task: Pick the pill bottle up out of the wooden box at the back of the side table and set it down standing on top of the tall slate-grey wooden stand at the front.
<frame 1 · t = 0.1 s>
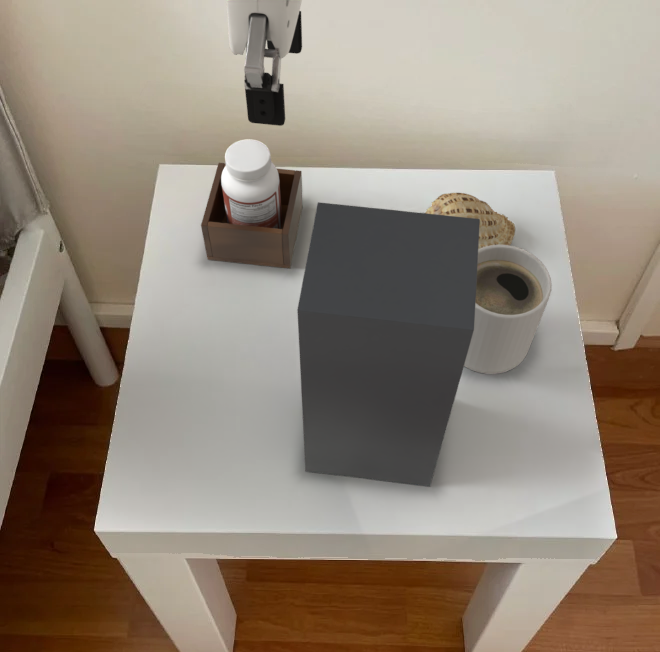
hand: (276, 85, 73), 21 cm above the table, tool pointing down, fingers open, 9 cm apart
mug: (479, 333, 86), on the table
seashell: (466, 239, 92), on the table
wooden box: (256, 232, 92), on the table
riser: (392, 262, 57), on the table
pill bottle: (255, 230, 92), resting on wooden box
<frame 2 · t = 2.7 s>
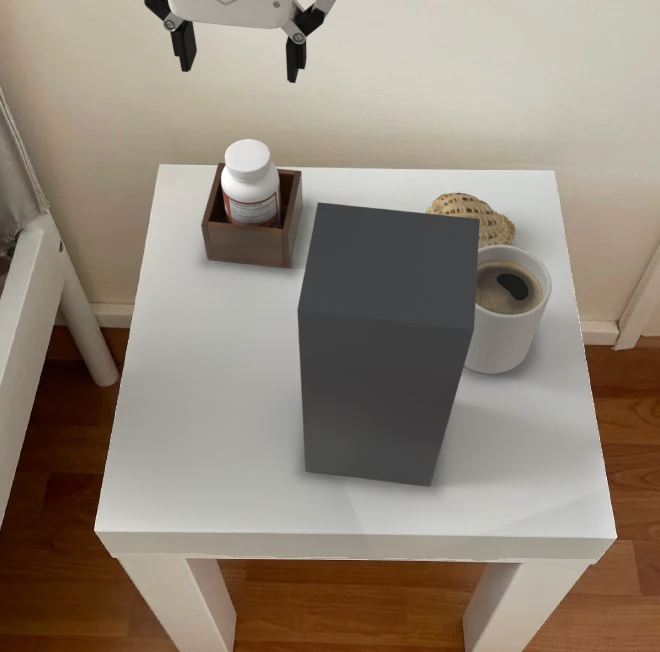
hand: (241, 67, 73), 22 cm above the table, tool pointing down, fingers open, 9 cm apart
nothing on the table moved.
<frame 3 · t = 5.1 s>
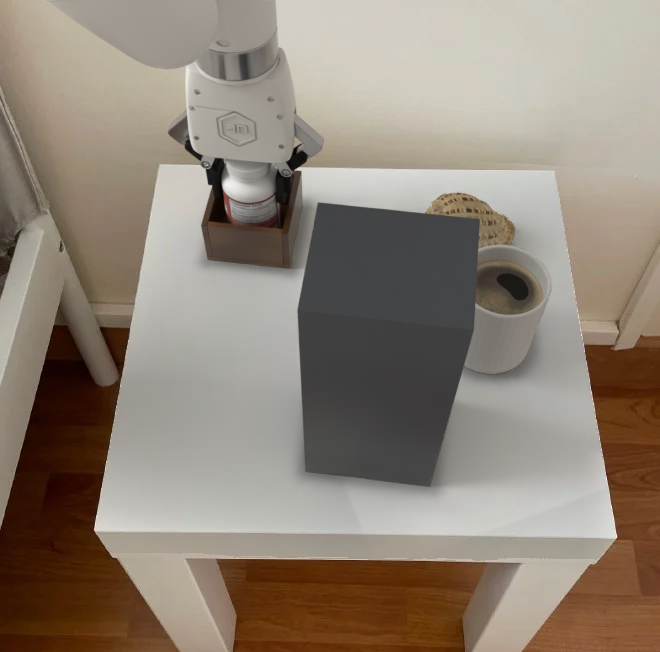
hand: (251, 190, 86), 7 cm above the table, tool pointing down, fingers closed on pill bottle, 6 cm apart
pill bottle: (255, 229, 92), resting on wooden box, touching gripper
everything else where it was.
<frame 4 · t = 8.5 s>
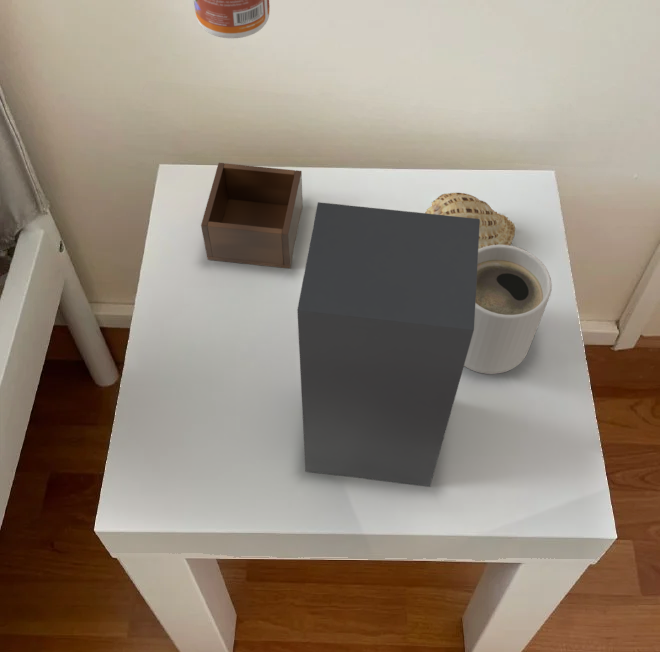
pill bottle: (233, 20, 68), point 28 cm above the table, touching gripper
everything else where it was.
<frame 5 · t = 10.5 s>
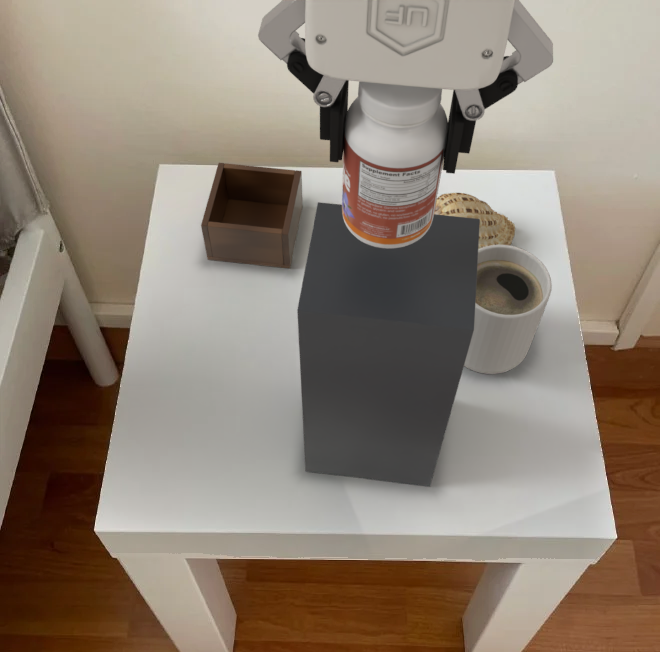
hand: (394, 149, 49), 36 cm above the table, tool pointing down, fingers closed on pill bottle, 6 cm apart
pill bottle: (387, 219, 54), point 29 cm above the table, touching gripper
everything else where it was.
when the fingers open (32 cm above the table, at t = 11.9 s): pill bottle stays where it is, resting on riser.
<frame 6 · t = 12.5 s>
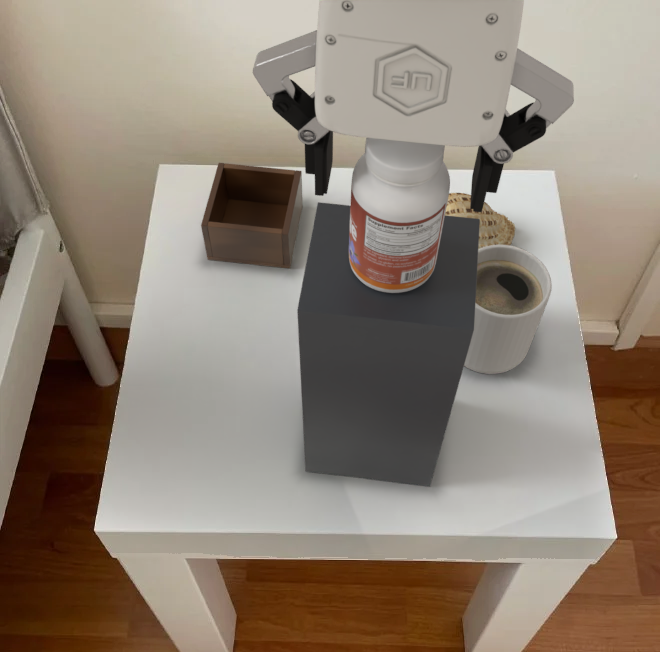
hand: (399, 187, 50), 33 cm above the table, tool pointing down, fingers open, 9 cm apart
pill bottle: (391, 263, 57), point 26 cm above the table, touching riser
everything else where it was.
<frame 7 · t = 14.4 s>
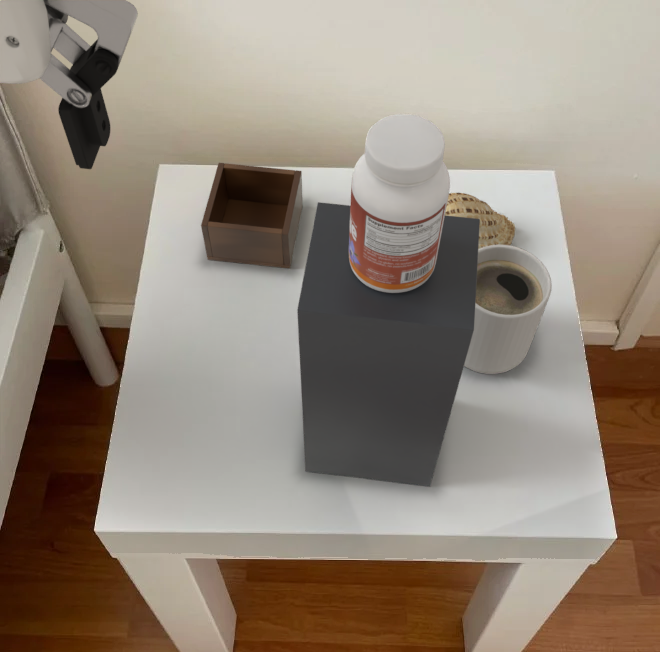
hand: (3, 140, 43), 40 cm above the table, tool pointing down, fingers open, 9 cm apart
nothing on the table moved.
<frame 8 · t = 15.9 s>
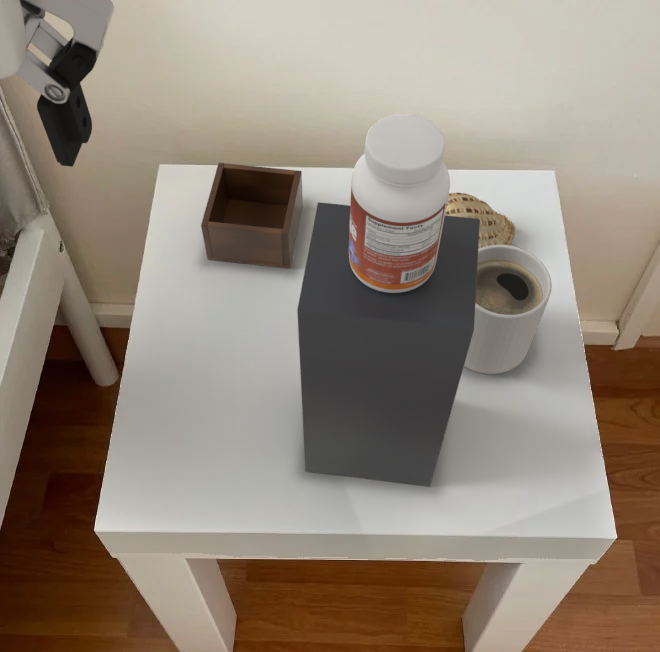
nothing on the table moved.
at the end: pill bottle inside the target area on the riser (0.0 cm from its centre), point 0.0 cm above the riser's base; pill bottle tilted 0°; pill bottle touching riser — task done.
